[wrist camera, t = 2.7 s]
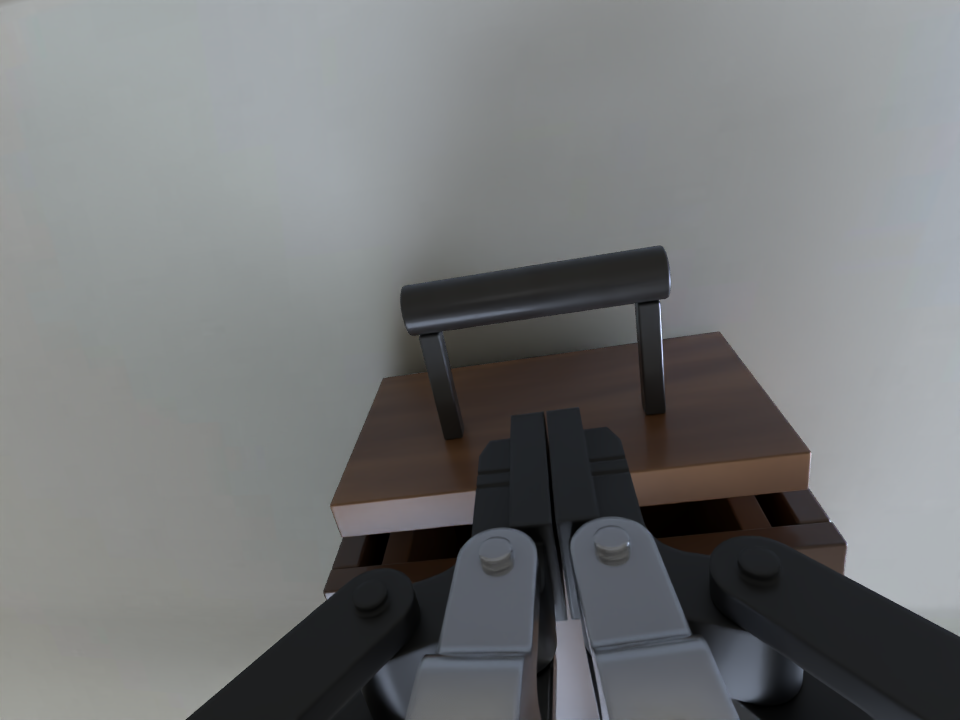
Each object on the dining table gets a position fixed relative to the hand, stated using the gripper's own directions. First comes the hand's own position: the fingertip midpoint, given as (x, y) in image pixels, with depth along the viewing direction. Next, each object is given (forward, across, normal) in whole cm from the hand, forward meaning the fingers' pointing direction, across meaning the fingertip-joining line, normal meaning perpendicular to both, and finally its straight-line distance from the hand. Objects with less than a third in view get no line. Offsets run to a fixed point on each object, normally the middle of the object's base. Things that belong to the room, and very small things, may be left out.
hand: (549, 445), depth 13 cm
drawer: (+9, 0, +7) cm, 11 cm away
